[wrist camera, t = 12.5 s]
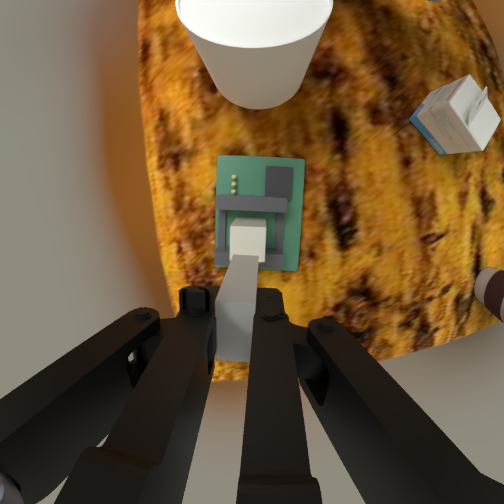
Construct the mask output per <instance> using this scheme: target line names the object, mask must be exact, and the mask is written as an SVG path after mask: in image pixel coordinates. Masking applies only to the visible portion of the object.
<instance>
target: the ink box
mask: <svg viewBox="0 0 504 504" xmlns="http://www.w3.org/2000/svg"><path fill="white" fill-rule="evenodd" d="M409 120H410V121H411V122H412V123H413V124H414V125H415V127H416V128H417V129H418V130H419V131H420V132H421V133H422V135H423V136H424V137H425V138H426V139H427V141H428V142H429V143H430V144H431V146H432V147H433V148H434V149H435V150H436V152H437V153H438V154H439V155H446V154H454V153H464V152H474V151H483V150H484V148H485V147H486V145H487V143H488V142H489V140H490V138H491V137H492V135H493V133H494V131H495V130H496V128H497V126H498V124H499V122H500V120H501V119H500V117H499V116H498V114H497V112H496V111H495V109H494V108H493V106H492V104H491V103H490V101H489V100H488V98H487V87H485V89H484V90H483V91H482V90H481V88H480V87H479V86H478V84H477V83H476V82H475V80H474V79H473V77H472V76H471V75H467V76H465V77H463V78H460V79H458V80H456V81H453V82H451V83H449V84H446V85H444V86H442V87H440V88H438V89H436V90H433V91H431V92H430V93H429V94H428V96H427V97H426V98H425V99H424V101H423V102H422V103H421V104H420V106H419V107H418V108H417V109H416V111H415V112H414V113H413V114H412V116H411V117H410V118H409Z"/></svg>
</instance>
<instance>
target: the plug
mask: <svg viewBox="0 0 504 504" xmlns="http://www.w3.org/2000/svg"><path fill="white" fill-rule="evenodd" d="M265 245H266V218H251V217H236V219H235V220H234V221H233V223H232V224H231V225H230V261H231V259H232V257H233V254H234V255H253V256H259V261H258V262H265Z"/></svg>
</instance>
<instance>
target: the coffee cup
mask: <svg viewBox="0 0 504 504" xmlns="http://www.w3.org/2000/svg"><path fill="white" fill-rule="evenodd" d="M474 294H475V297H476V298H477V299H478V300H479V301H480V302H481V303H483V304H484V305H485V307H486V308H487V309H488V310H489V311H490V312H491V313H493V314H494V315H495V316H496V317H497V318H498V319H499V320H501V321H502V322H504V271H503V270H498V269H495V268H492V267H486V268H484V269H483V270H482V271H481V272H480V273H479V275H478V276H477V279H476V281H475V285H474Z"/></svg>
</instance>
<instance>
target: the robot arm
mask: <svg viewBox="0 0 504 504" xmlns="http://www.w3.org/2000/svg"><path fill="white" fill-rule="evenodd" d="M428 1H441V0H428ZM258 261H259V256H253V255H234V254H233V257H232V259H231V262H230V264H229V267H228V269H227V272H226V274H225V277H224V279H223V282H222V284H221V286H210V285H206V286H187V287H184V288H182V289H180V290H179V304H180V311H179V313H178V314H177V316H176V317H175V318H167V319H160V317H159V312H158V311H157V310H155V309H152V308H147V307H144V308H142V307H140V308H138V309H134V310H132V311H130V312H128V313H127V314H125V315H123V316H122V317H120V318H119V319H117V320H116V321H114V322H113V323H111V324H110V325H108V326H107V327H105V328H104V329H102V330H101V331H99V332H98V333H96V334H95V335H93V336H92V337H90V338H89V339H87V340H86V341H84V342H83V343H81V344H80V345H78V346H77V347H75V348H74V349H72V350H71V351H69V352H68V353H67V354H65V355H64V356H62V357H61V358H59V359H58V360H56V361H55V362H53V363H52V364H50V365H49V366H47V367H46V368H44V369H43V370H41V371H40V372H39V373H37V374H36V375H34V376H33V377H31V378H30V379H28V380H27V381H26V382H24V383H23V384H21V385H20V386H18V387H17V388H16V389H14V390H13V391H11V392H10V393H9V394H7V395H6V396H4V397H3V398H1V399H0V504H36V503H38V502H39V501H41V500H42V499H44V498H45V497H46V496H48V495H49V494H50V493H51V492H52V491H53V490H55V489H56V488H57V487H58V486H59V484H61V482H63V480H64V479H65V478H66V477H67V476H68V475H69V476H68V478H67V480H66V482H65V484H64V485H63V487H62V489H61V491H60V493H59V495H58V497H57V499H56V501H55V502H54V504H182V499H183V496H184V491H185V487H186V483H187V479H188V474H189V470H190V466H191V462H192V457H193V453H194V449H195V445H196V441H197V437H198V433H199V428H200V424H201V420H202V416H203V412H204V408H205V404H206V400H207V396H208V392H209V388H210V383H211V380H212V375H213V371H214V367H215V364H214V356H215V353H216V360H224V361H237V362H250V366H249V378H248V389H247V402H246V412H245V424H244V434H243V446H242V457H241V468H240V476H239V481H238V490H237V501H236V504H322V497H321V491H320V486H319V483H318V480H317V479H316V478H314V477H312V475H311V472H310V464H309V456H308V448H307V440H306V432H305V425H304V417H303V411H302V403H301V396H300V389H299V383H300V385H301V387H302V389H303V391H304V393H305V395H306V396H307V398H308V400H309V402H310V404H311V406H312V408H313V410H314V411H315V413H316V415H317V417H318V419H319V421H320V422H321V424H322V426H323V428H324V430H325V432H326V434H327V435H328V437H329V439H330V441H331V442H332V444H333V446H334V448H335V450H336V451H337V454H338V455H339V457H340V459H341V461H342V462H343V464H344V466H345V468H346V470H347V471H348V473H349V475H350V477H351V479H352V480H353V482H354V484H355V486H356V487H357V489H358V491H359V493H360V494H361V496H362V498H363V500H364V501H365V503H366V504H504V485H503V484H501V483H499V482H497V481H495V480H493V479H491V478H489V477H487V476H485V475H483V474H481V473H480V472H479V471H478V470H477V468H476V467H475V466H474V465H473V464H472V463H471V462H470V461H469V460H468V459H467V457H466V456H465V455H464V454H463V453H462V452H461V451H460V450H459V449H458V448H457V447H456V445H455V444H454V443H453V442H452V441H451V440H450V439H449V438H448V437H447V436H446V434H445V433H444V432H443V431H442V430H441V429H440V428H439V427H438V426H437V425H436V424H435V423H434V421H433V420H431V418H430V417H429V416H428V415H427V414H426V413H425V412H424V411H423V410H422V409H421V407H420V406H419V405H418V404H417V403H416V402H415V401H414V400H413V399H412V398H411V397H410V396H409V395H408V394H407V393H406V392H405V390H404V389H403V388H402V387H401V386H400V385H399V384H398V383H397V382H396V381H395V380H394V379H393V378H392V377H391V376H390V375H389V374H388V373H387V371H385V369H384V368H383V367H382V366H381V365H380V364H379V363H378V362H377V361H376V360H375V359H374V358H373V357H372V356H371V355H370V354H369V353H368V352H367V351H366V349H365V348H364V347H363V346H362V345H361V344H360V343H359V342H358V341H357V340H356V339H355V338H354V337H353V336H352V335H351V334H350V333H349V332H348V331H347V330H346V329H345V328H344V327H343V326H342V325H341V324H340V323H339V322H337V321H334V320H332V319H329V318H328V319H327V318H318V319H314V320H312V321H310V322H309V324H308V328H307V327H302V326H298V325H295V324H292V323H291V322H289V317H288V315H287V314H286V313H285V310H284V304H283V297H282V293H281V292H280V291H279V290H278V289H275V288H257V280H258ZM131 353H133V357H134V359H133V360H132V361H130V362H129V360H128V357H129V355H130V354H131ZM298 378H299V381H298ZM108 434H109V435H108ZM107 435H108V437H107V439H106V441H105V442H104V444H103V445H102V446H101V447H96V446H97V445H98V444H99V443H100V442H101V441H102V440H103V439H104V438H105V437H106V436H107Z"/></svg>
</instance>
